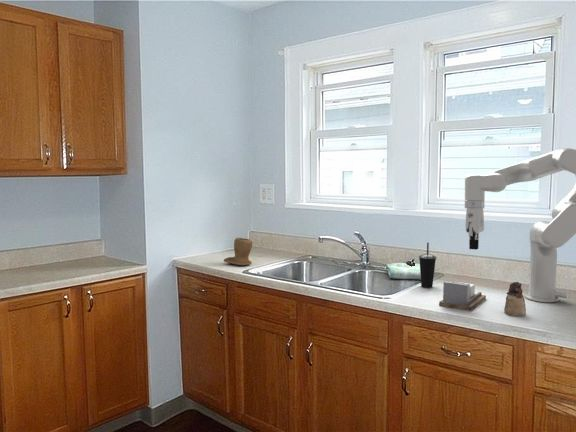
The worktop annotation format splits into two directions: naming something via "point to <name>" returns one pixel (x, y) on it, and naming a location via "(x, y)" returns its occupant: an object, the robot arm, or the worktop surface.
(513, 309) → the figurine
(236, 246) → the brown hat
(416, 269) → the towel
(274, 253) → the worktop surface
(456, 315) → the worktop surface
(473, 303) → the base
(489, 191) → the robot arm
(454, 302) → the grey rectangular block
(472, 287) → the gauge carriage
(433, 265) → the drinking cup
